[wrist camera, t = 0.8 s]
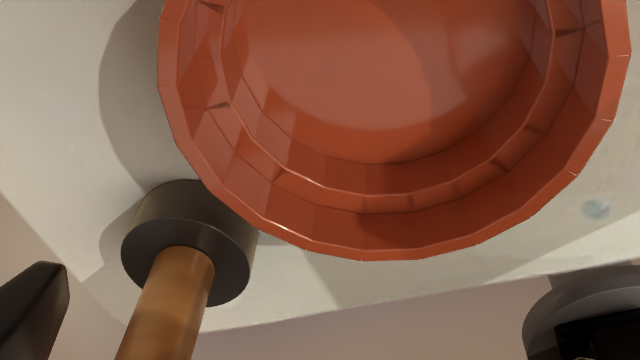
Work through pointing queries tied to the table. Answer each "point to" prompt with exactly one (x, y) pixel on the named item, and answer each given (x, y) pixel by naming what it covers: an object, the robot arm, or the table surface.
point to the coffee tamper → (182, 267)
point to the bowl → (389, 113)
